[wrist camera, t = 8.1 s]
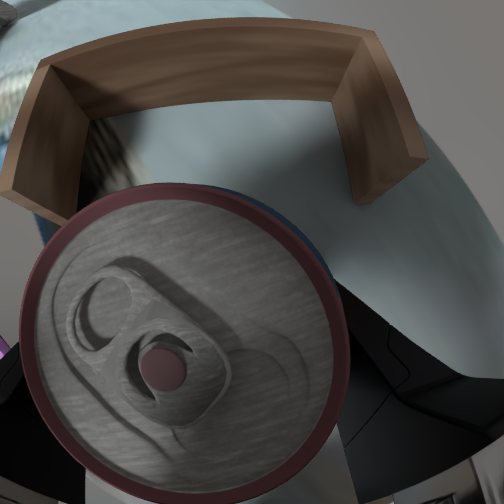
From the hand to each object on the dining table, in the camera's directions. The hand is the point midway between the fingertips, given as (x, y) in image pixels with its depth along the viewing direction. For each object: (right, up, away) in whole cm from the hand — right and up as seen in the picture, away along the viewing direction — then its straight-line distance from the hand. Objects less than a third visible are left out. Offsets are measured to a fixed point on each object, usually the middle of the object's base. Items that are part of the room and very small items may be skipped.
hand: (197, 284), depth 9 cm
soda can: (0, -2, +7) cm, 7 cm away
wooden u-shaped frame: (-1, +7, +9) cm, 12 cm away
